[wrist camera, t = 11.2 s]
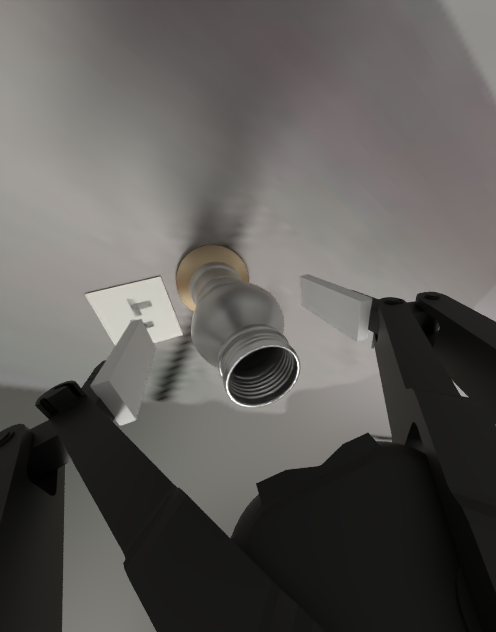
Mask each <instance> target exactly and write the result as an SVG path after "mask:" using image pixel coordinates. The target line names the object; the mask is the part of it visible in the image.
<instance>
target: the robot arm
mask: <svg viewBox="0 0 496 632" xmlns="http://www.w3.org/2000/svg"><path fill="white" fill-rule="evenodd" d="M300 287H301V305H302V306H303V307H305V308H306V309H308V310H309V311H311V312H312V313H314V314H315V315H317V316H318V317H320V318H321V319H323V320H325V321H326V322H328V323H329V324H331V325H332V326H334V327H335V328H337V329H338V330H340V331H341V332H343V333H344V334H346V335H347V336H349V337H350V338H352V339H353V340H355V341H356V342H358V341H361V340H364V339H367V337H368V330H370V331H372V332H374V334H373V341H372V348H374V346H375V351H376V357H377V362H378V367H379V372H380V377H381V382H382V387H383V393H384V397H385V403H386V408H387V413H388V419H389V424H390V428H391V434H392V442H383V441H375V440H374V439H373V437H372V436H371V435H370V434H369V433H366V434H364V435H362V436H360V437H358V438H355V439H353V440H351V441H349V442H346V443H345V444H343V445H342V446H341V447H340V448H339V449H337V451H335V452H334V454H332V455H331V456H330V457H329V458H328V459H327V460H326V461H325V462H324V463H323V464H322V465H320V466H317V467H308V468H299V469H290V470H285V471H283V472H281V473H278V474H276V475H274V476H272V477H270V478H268V479H265V480H263V481H261V482H259V483H256V485H257V488H258V492H259V494H258V495H257V496H256V497H255V498H254V499H253V500H252V502H251V503H250V504H249V505H248V506H247V507H246V509H245V511H244V512H243V513H242V515H241V517H240V519H239V520H238V523H237V524H236V526H235V529H234V531H233V534H232V536H231V539H230V538H229V537H228V536H227V535H226V534H225V533H224V532H223V531H222V530H221V529H220V528H219V527H218V526H217V525H216V524H215V523H214V522H213V521H212V520H211V519H210V518H209V517H208V516H207V515H206V514H205V513H204V511H202V510H201V509H200V507H199V506H197V504H196V503H195V502H194V501H193V500H191V498H190V497H189V496H188V495H187V494H186V493H185V492H183V491H182V490H181V489H180V488H177V487H176V486H175V485H174V484H173V483H172V482H171V481H170V480H169V479H168V478H167V477H166V476H165V475H164V474H163V473H162V472H161V471H160V470H159V469H158V468H157V467H156V466H155V465H154V464H153V463H152V462H151V461H150V460H149V459H148V457H146V456H145V454H144V453H143V452H142V451H140V450H139V448H138V447H137V446H136V445H135V444H134V443H133V442H132V441H131V440H130V439H129V438H128V437H127V436H126V435H125V434H124V433H123V432H122V431H121V430H120V429H119V428H118V427H117V426H116V425H115V424H114V423H113V420H114V418H115V420H116V421H117V422H118V423H119V425H120V426H121V425H124V424H126V423H129V422H132V421H135V420H136V419H137V416H138V412H139V409H140V405H141V401H142V398H143V394H144V390H145V387H146V383H147V379H148V376H149V372H150V369H151V365H152V361H153V358H154V354H155V350H156V347H155V345H154V343H153V341H152V339H151V337H150V335H149V333H148V331H147V329H146V327H145V325H144V323H143V321H142V319H139V320H135V321H132V322H130V324H129V325H128V327H127V328H126V330H125V332H124V333H123V335H122V336H121V338H120V339H119V341H118V343H117V344H116V346H115V347H114V349H113V351H112V352H111V354H110V355H109V357H108V358H107V360H105V361H102V362H101V363H100V364H99V365H98V366H97V367H96V368H95V369H94V370H93V372H92V373H91V375H90V376H89V378H88V379H87V380H88V381H86V382H85V384H84V385H83V387H82V388H80V387H79V385H78V384H77V383H76V382H75V381H67V382H64V383H61V384H59V385H57V386H55V387H53V388H51V389H50V390H48V391H47V392H45V393H44V394H43V395H42V396H41V397H39V399H38V400H37V402H36V407H37V408H38V409H39V410H40V411H41V412H42V413H43V414H44V415H45V416H46V417H47V418H48V419H49V420H48V421H46V422H44V423H42V424H40V425H38V426H36V427H34V428H32V429H28V428H27V427H26V426H25V425H24V424H17V425H13V426H11V427H9V428H7V429H5V430H3V431H1V432H0V632H62V597H63V592H62V591H63V541H64V537H63V536H64V485H65V482H64V481H65V464H67V463H68V462H70V461H71V460H72V461H73V463H74V465H75V467H76V468H77V470H78V472H79V473H80V476H81V477H82V479H83V481H84V483H85V485H86V486H87V488H88V490H89V492H90V494H91V495H92V497H93V499H94V501H95V502H96V504H97V506H98V508H99V510H100V511H101V513H102V515H103V517H104V519H105V521H106V522H107V524H108V526H109V528H110V530H111V531H112V533H113V535H114V537H115V539H116V540H117V542H118V544H119V546H120V547H121V549H122V551H123V553H124V555H125V561H124V563H123V564H124V568H125V571H126V573H127V576H128V578H129V580H130V582H131V584H132V586H133V588H134V590H135V591H136V593H137V595H138V597H139V599H140V601H141V603H142V605H143V607H144V608H145V610H146V612H147V614H148V616H149V617H150V620H151V622H152V624H153V626H154V627H155V629H156V631H157V632H496V322H495V321H493V320H491V319H489V318H488V317H486V316H484V315H482V314H480V313H478V312H476V311H474V310H473V309H471V308H469V307H467V306H465V305H463V304H461V303H459V302H457V301H456V300H454V299H452V298H450V297H448V296H446V295H444V294H440V293H437V292H424V293H419V294H417V297H416V301H415V302H408V303H406V302H405V301H404V300H402V299H399V298H393V297H387V298H381V299H376V298H373V297H370V296H368V295H364V294H362V293H359V292H356V291H354V290H349V289H346V288H344V287H341V286H338V285H336V284H333V283H330V282H327V281H325V280H322V279H319V278H316V277H314V276H311V275H308V274H307V275H303V276H300ZM439 327H440V328H439ZM438 329H439V330H438ZM451 379H452V380H451ZM452 381H454V383H456V385H457V386H459V388H460V389H461V390H462V391H463V392H464V393H465V394H466V395H467V396H468V397H469V398H468V397H462V396H461V395H460V394H459V392H458V390H457V388H456V387H455V385H454V383H453V382H452Z"/></svg>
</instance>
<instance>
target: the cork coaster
mask: <svg viewBox="0 0 496 632" xmlns="http://www.w3.org/2000/svg"><path fill="white" fill-rule="evenodd" d="M209 262H223V263H226V264H228V265H230V266H232V267H233V268H234V269H235V270H236V271H237V273H238V274H239V276H240V277H241V280H242V281H243V282H247V283H249V276H248V271H247V268H246V266H245V264H244V262H243V261H242V260H241V258H240V257H239V256H238V255H237V254H236V253H234V252H233V251H231V250H230V249H227V248H225V247H222V246H218V245H206V246H202V247H199V248H196V249H194V250H193V251H191V252H190V253H189V254H188V255H186V257H185V258H184V259H183V260H182V262H181V264H180V266H179V268H178V271H177V277H176V285H177V290H178V293H179V295H180V297H181V299H182V301H183V302H184V303H185V305H186V306H188V307H189V308H190V309H191V310H192V311H195V308H196V305H195V304H194V302H193V300H192V298H191V296H190V293H189V281H190V279H191V276H192V275H193V273H194V272H195V271H196V270H197V268H199V267H200V266H202V265H204V264H206V263H209Z"/></svg>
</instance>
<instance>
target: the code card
mask: <svg viewBox="0 0 496 632" xmlns="http://www.w3.org/2000/svg"><path fill="white" fill-rule="evenodd" d="M85 295H86V297H87V299H88V300H89V302H90V304H91V306H92V307H93V309H94V311H95V312H96V314H97V316H98V318H99V319H100V321H101V323H102V324H103V326H104V328H105V329H106V331H107V333H108V335H109V336H110V338H111V340H112V341H113V343H114V345H115V346H116V344H117V343H118V341H119V339H120V338H121V336H122V335H123V333H124V332H125V330H126V328H127V327H128V325H129V324H130V322H132V321H135V320H139V319H142V321H143V323H144V325H145V327H146V329H147V331H148V333H149V335H150V337H151V339H152V341H153V343H156V342H160V341H163V340H167V339H170V338H174V337H177V336H180V335H183V333H182V330H181V328H180V325H179V323H178V320H177V318H176V315H175V312H174V310H173V307H172V305H171V302H170V300H169V297H168V294H167V292H166V289H165V287H164V284H163V281H162V279H161V276H160V277H156V278H151V279H147V280H143V281H138V282H134V283H130V284H126V285H121V286H117V287H113V288H109V289H104V290H100V291H96V292H92V293H87V294H85Z"/></svg>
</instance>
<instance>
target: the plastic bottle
mask: <svg viewBox="0 0 496 632" xmlns="http://www.w3.org/2000/svg"><path fill="white" fill-rule="evenodd" d="M189 293H190V296H191V298H192V300H193V302H194V304H195V305H196V308H195V311H194V314H193V317H192V324H191V337H192V340H193V343H194V346H195V347H196V349H197V351H198V352H199V353H200V355H201V356H202V357H203V358H204V359H205V360H206V361H207V362H208V363H209V364H211V365H213V366H214V367H217V368H218V369H219V372H220V376H221V377H222V379H223V383H224V387H225V391H226V392H227V395H228V396H229V398H230V399H231V400H232V401H233V402H234V403H236V404H238V405H240V406H244V407H251V408H254V407H261V406H266V405H268V404H271V403H273V402H275V401H277V400H279V399H280V398H282V397H283V396H284V395H286V394H287V393H288V392H289V391H290V390H291V388H292V387H293V386H294V384H295V383H296V381H297V379H298V376H299V373H300V361H299V358H298V356H297V354H296V352H295V351H294V349H293V348H292V347H291V346H290V345H289V343H288V341H287V339H286V338H285V336H284V335H283V331H284V318H283V315H282V312H281V309H280V306H279V304H278V303H277V301H276V299H275V298H274V297H273V296H272V295H271V294H270V293H269V292H268V291H266V290H265V289H263V288H261V287H259V286H257V285H254V284H251V283H247V282H243V281H242V280H241V277H240V276H239V274H238V273H237V271H236V270H235V269H234V268H233V267H232V266H230V265H228V264H226V263H223V262H209V263H206V264H204V265H202V266H200V267H199V268H197V270H196V271H195V272H194V273H193V275H192V276H191V279H190V281H189Z"/></svg>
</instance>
